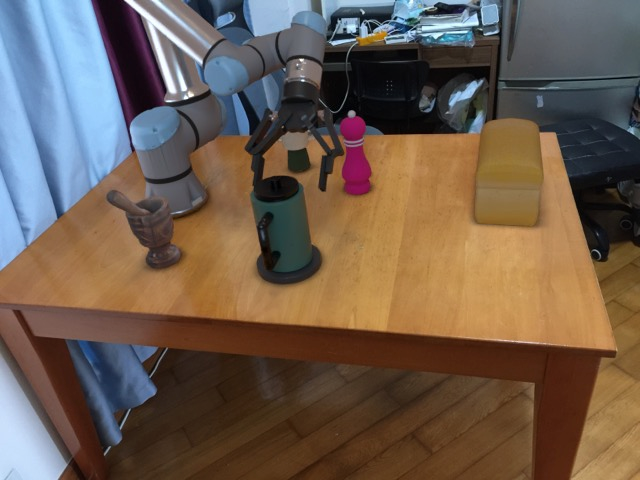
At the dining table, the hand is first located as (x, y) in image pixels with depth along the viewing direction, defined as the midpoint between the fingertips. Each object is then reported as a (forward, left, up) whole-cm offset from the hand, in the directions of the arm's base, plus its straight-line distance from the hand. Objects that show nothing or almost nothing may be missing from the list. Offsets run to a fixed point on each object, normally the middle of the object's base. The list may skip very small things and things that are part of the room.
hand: (288, 189), depth 106 cm
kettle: (+5, -3, -13) cm, 14 cm away
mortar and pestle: (-7, -29, -15) cm, 33 cm away
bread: (-3, +49, -15) cm, 51 cm away
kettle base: (+4, -3, -14) cm, 15 cm away
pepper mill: (-21, +19, -15) cm, 32 cm away
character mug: (-39, +8, -15) cm, 42 cm away
